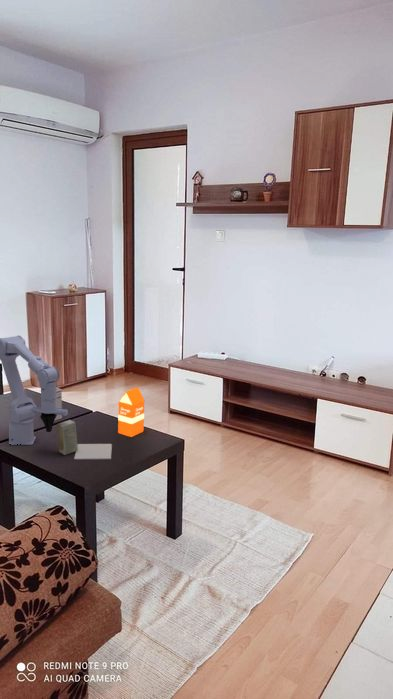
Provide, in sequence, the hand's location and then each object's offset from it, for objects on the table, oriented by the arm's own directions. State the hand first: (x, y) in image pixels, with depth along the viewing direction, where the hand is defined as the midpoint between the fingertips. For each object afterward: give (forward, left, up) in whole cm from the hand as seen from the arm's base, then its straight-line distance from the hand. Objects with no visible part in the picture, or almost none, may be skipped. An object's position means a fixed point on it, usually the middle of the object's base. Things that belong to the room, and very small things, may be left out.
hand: (49, 431), depth 200 cm
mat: (+17, 0, -9) cm, 20 cm away
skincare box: (+7, 0, -9) cm, 12 cm away
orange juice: (+32, +21, -9) cm, 40 cm away
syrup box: (-4, +38, -9) cm, 39 cm away
